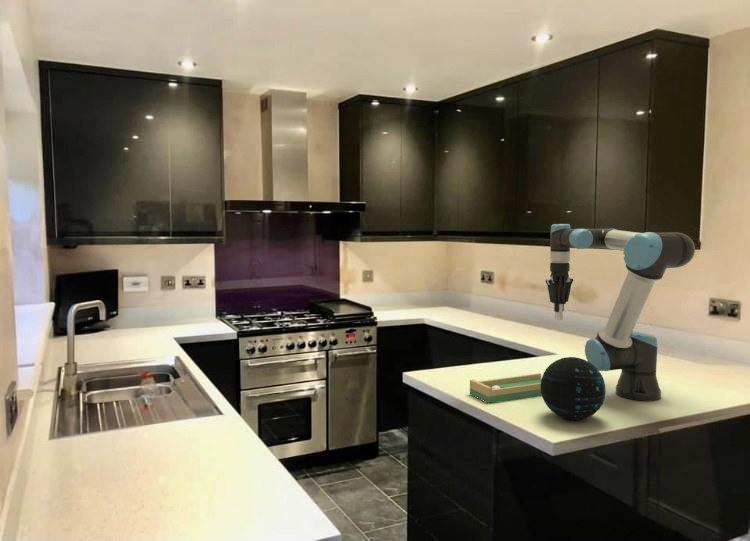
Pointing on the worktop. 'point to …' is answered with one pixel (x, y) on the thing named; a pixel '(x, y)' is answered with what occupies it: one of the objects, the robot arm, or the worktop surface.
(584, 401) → the decorative sphere
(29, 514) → the worktop surface
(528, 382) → the tray
